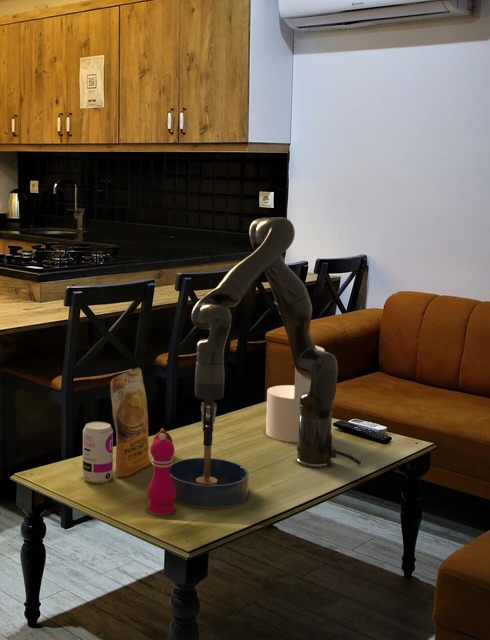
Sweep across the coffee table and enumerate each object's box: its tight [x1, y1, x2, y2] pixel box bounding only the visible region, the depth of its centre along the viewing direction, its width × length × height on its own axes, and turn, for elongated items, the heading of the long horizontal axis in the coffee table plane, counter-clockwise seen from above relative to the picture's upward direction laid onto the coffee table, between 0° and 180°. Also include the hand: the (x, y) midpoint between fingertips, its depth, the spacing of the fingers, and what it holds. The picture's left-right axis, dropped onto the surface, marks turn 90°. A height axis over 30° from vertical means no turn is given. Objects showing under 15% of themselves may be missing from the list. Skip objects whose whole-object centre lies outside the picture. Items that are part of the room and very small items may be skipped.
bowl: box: [170, 457, 250, 508], centre depth 231 cm, size 21×21×6 cm
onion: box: [152, 428, 174, 444], centre depth 261 cm, size 6×6×8 cm
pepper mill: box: [146, 433, 176, 515], centre depth 218 cm, size 7×7×20 cm
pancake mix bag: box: [109, 367, 151, 478], centre depth 247 cm, size 7×19×28 cm, turn 145°
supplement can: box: [82, 421, 114, 484], centre depth 240 cm, size 8×8×15 cm
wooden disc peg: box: [196, 426, 217, 485], centre depth 231 cm, size 6×6×17 cm
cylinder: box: [265, 345, 326, 443], centre depth 281 cm, size 17×17×28 cm
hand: (207, 443), depth 230 cm, fingers closed on wooden disc peg
